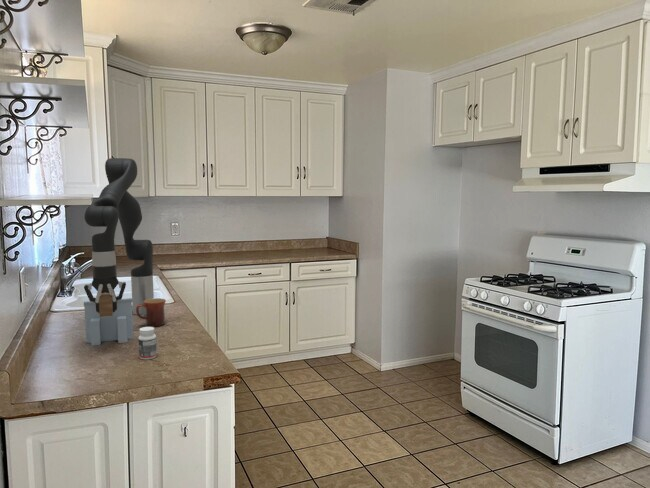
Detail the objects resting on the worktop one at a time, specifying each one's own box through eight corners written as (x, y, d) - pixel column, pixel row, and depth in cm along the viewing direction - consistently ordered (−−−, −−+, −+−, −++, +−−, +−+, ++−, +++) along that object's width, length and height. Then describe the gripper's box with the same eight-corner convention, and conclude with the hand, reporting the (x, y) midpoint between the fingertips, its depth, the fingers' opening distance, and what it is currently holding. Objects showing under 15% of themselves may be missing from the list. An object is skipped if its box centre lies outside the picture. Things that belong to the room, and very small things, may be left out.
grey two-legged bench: (86, 341, 183) (84, 301, 182) (133, 337, 189) (132, 298, 187) (84, 346, 178) (82, 305, 176) (133, 341, 184) (131, 301, 182)
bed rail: (102, 307, 182) (101, 290, 181) (114, 306, 183) (113, 290, 183) (99, 316, 169) (98, 299, 168) (112, 315, 170) (111, 298, 170)
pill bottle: (139, 355, 169) (137, 327, 168) (156, 353, 171) (155, 325, 170) (139, 360, 164) (137, 331, 163) (157, 358, 166) (156, 330, 165)
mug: (161, 320, 212) (161, 297, 210) (169, 325, 205) (169, 301, 204) (133, 325, 204) (132, 301, 203) (140, 330, 197) (139, 305, 196)
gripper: (126, 261, 177) (128, 308, 179) (82, 263, 172) (85, 311, 174) (126, 264, 170) (128, 313, 172) (80, 266, 165) (83, 316, 167)
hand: (106, 312), depth 173 cm, fingers closed on bed rail, 4 cm apart
